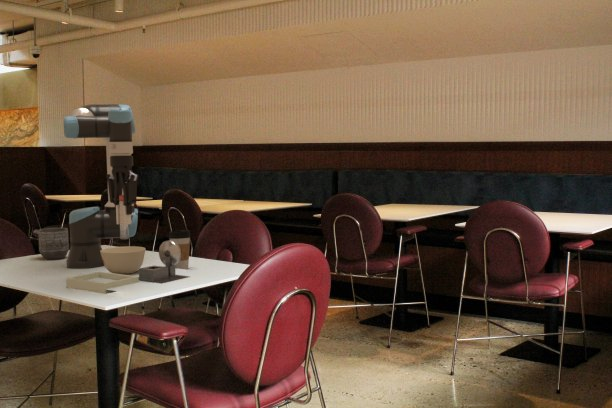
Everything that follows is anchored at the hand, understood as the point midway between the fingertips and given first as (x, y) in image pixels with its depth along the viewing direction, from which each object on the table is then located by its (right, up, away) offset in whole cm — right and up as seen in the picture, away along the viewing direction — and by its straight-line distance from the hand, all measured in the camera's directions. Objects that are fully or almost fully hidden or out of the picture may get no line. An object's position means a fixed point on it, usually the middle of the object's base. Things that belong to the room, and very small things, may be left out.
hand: (123, 223), depth 232 cm
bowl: (-5, -20, +18) cm, 28 cm away
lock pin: (0, -5, 0) cm, 5 cm away
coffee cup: (+13, -19, +33) cm, 40 cm away
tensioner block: (+11, -21, +6) cm, 24 cm away
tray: (-7, -21, -1) cm, 23 cm away
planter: (-47, -17, +64) cm, 82 cm away
